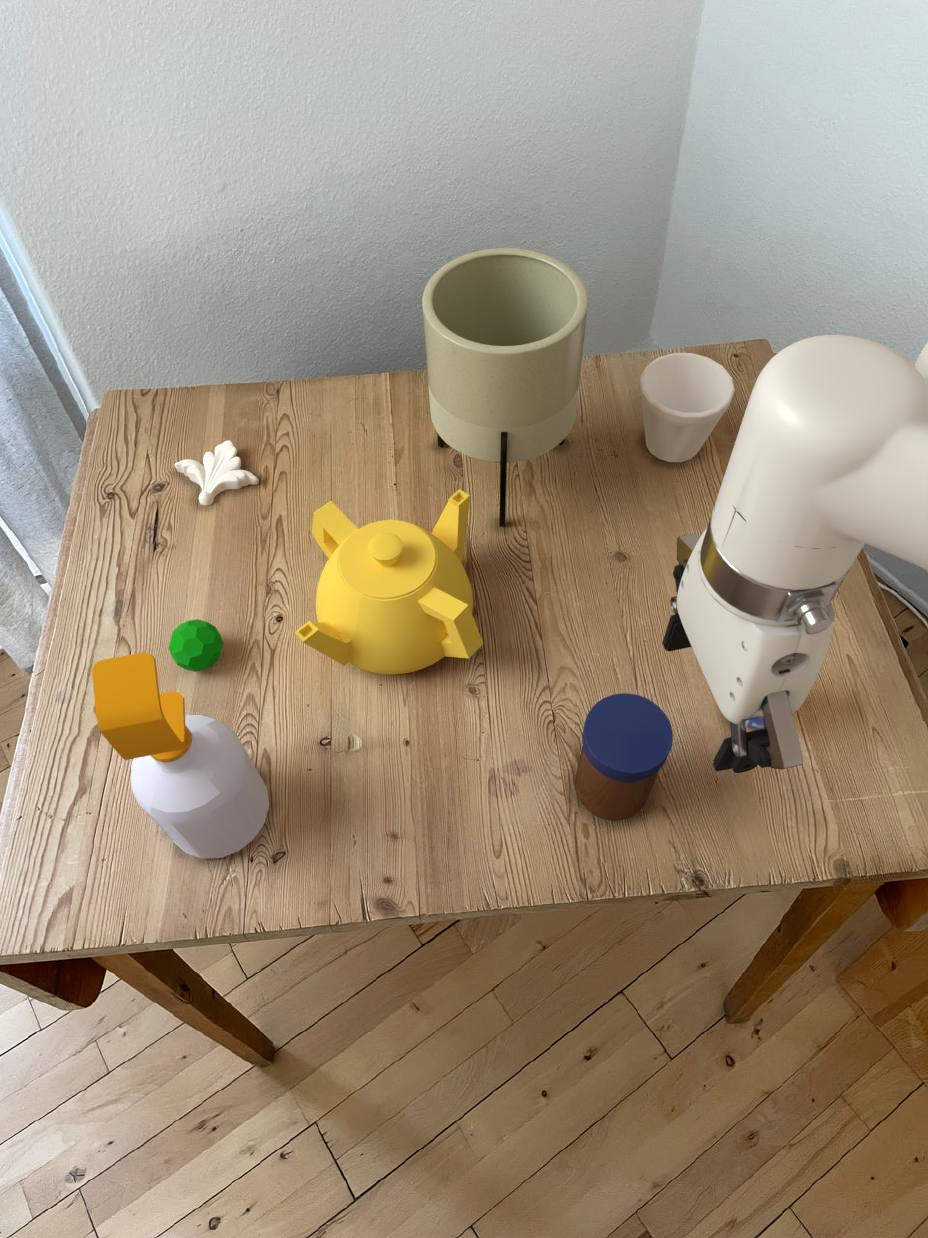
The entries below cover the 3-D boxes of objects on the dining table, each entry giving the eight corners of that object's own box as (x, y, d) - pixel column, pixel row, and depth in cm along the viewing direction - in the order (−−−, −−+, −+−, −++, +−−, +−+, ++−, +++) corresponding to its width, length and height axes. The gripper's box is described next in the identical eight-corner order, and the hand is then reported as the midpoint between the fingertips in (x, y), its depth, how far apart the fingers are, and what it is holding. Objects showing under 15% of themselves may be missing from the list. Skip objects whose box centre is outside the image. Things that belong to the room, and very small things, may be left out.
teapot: (319, 554, 93) (299, 478, 83) (475, 546, 93) (473, 469, 83) (311, 693, 84) (287, 627, 74) (484, 684, 84) (483, 617, 74)
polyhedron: (223, 631, 88) (210, 604, 84) (232, 671, 86) (219, 646, 82) (174, 645, 87) (159, 619, 83) (181, 685, 85) (166, 661, 81)
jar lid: (674, 714, 72) (679, 703, 70) (663, 791, 68) (668, 782, 66) (590, 696, 73) (592, 685, 71) (574, 771, 69) (576, 761, 68)
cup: (655, 402, 104) (668, 339, 97) (731, 436, 101) (751, 374, 93) (612, 453, 100) (622, 391, 92) (690, 490, 97) (708, 429, 89)
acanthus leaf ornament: (176, 471, 100) (171, 459, 99) (230, 445, 102) (226, 433, 101) (205, 510, 97) (200, 499, 95) (260, 483, 99) (256, 471, 97)
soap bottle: (265, 754, 81) (188, 607, 60) (274, 849, 76) (193, 723, 55) (167, 774, 80) (55, 631, 59) (169, 870, 75) (48, 752, 54)
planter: (600, 484, 97) (627, 311, 78) (477, 542, 94) (474, 374, 74) (528, 403, 105) (537, 226, 86) (411, 452, 101) (393, 279, 82)
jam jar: (653, 760, 79) (674, 707, 70) (643, 829, 76) (663, 782, 67) (582, 745, 80) (593, 690, 71) (568, 811, 77) (579, 762, 68)
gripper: (918, 675, 43) (811, 803, 57) (773, 429, 52) (712, 592, 66) (774, 707, 42) (702, 829, 56) (653, 452, 51) (618, 612, 66)
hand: (708, 701), depth 61 cm, fingers open, 9 cm apart
